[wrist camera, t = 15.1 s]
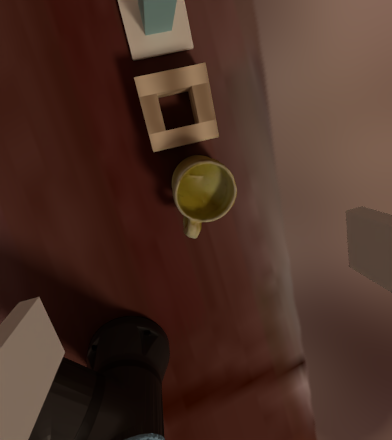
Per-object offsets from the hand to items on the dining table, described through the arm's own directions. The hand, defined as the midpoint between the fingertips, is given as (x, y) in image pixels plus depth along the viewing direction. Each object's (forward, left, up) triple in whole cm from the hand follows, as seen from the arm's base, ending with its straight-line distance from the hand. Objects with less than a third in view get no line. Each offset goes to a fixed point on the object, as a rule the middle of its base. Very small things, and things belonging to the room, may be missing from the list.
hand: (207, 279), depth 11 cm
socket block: (+4, +10, -35) cm, 36 cm away
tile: (+4, +22, -35) cm, 41 cm away
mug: (+4, -3, -35) cm, 35 cm away
